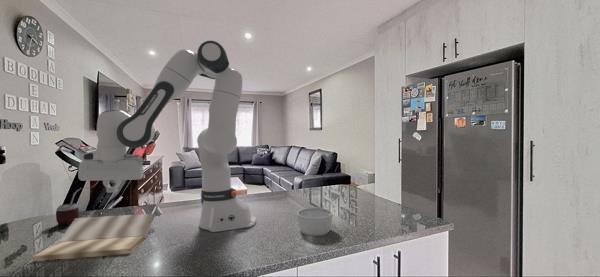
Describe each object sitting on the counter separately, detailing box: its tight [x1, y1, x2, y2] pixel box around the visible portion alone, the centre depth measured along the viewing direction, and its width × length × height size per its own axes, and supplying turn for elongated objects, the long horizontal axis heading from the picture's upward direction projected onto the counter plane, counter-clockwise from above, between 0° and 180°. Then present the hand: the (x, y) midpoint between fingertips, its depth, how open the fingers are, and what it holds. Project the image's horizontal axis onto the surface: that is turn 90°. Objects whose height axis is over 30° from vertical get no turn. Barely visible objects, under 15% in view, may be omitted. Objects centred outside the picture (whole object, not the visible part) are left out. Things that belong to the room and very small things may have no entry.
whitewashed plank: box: [58, 213, 155, 242], centre depth 94 cm, size 26×10×2 cm, turn 100°
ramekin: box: [296, 207, 333, 237], centre depth 99 cm, size 13×13×7 cm
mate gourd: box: [55, 187, 82, 228], centre depth 108 cm, size 8×8×15 cm
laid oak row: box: [32, 236, 145, 263], centre depth 84 cm, size 26×10×2 cm, turn 100°
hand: (112, 192), depth 97 cm, fingers closed
